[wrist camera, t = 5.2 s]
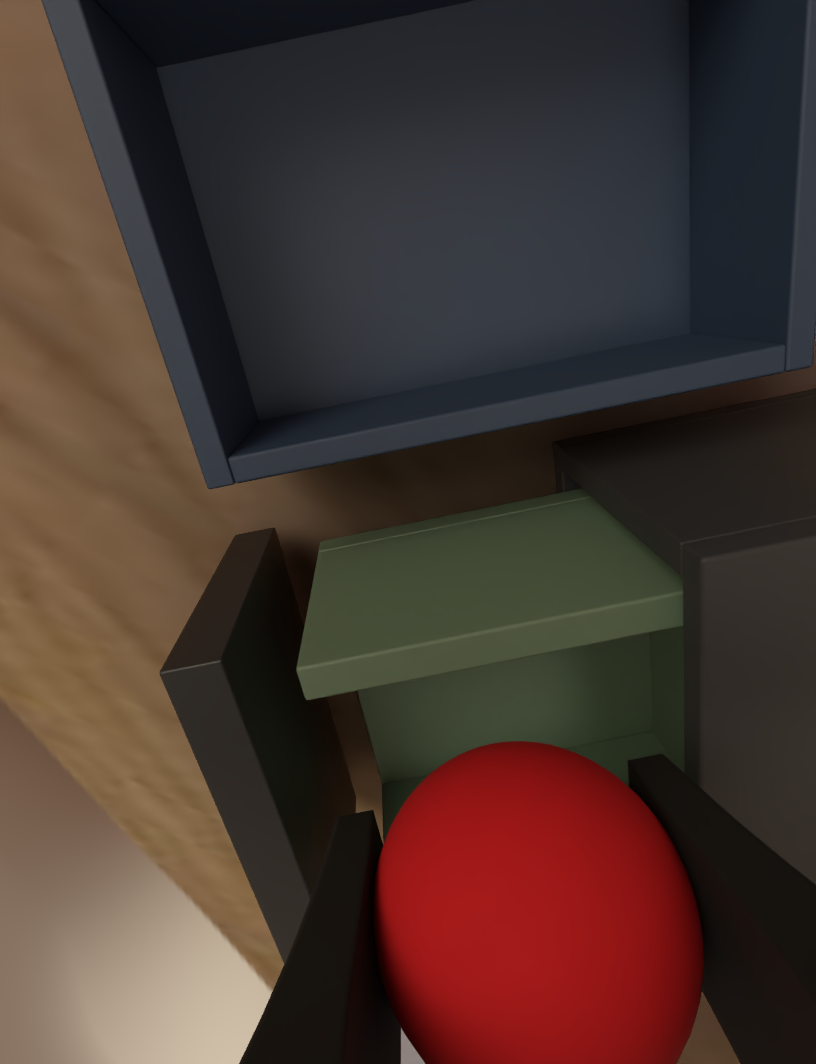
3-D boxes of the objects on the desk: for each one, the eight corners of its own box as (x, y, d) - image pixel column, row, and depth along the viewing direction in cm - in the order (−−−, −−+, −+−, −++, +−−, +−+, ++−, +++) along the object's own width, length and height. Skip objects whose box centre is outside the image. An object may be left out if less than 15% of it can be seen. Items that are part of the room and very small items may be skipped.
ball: (517, 903, 12) (599, 1241, 8) (323, 819, 11) (292, 1162, 7) (671, 752, 11) (874, 1054, 7) (470, 637, 10) (555, 914, 5)
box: (248, 441, 17) (207, 490, 12) (130, 51, 13) (18, -65, 9) (699, 348, 17) (814, 367, 12) (701, -70, 13) (861, -246, 9)
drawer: (291, 809, 21) (259, 1024, 15) (194, 542, 17) (94, 685, 11) (661, 736, 21) (787, 922, 15) (654, 449, 17) (822, 540, 11)
